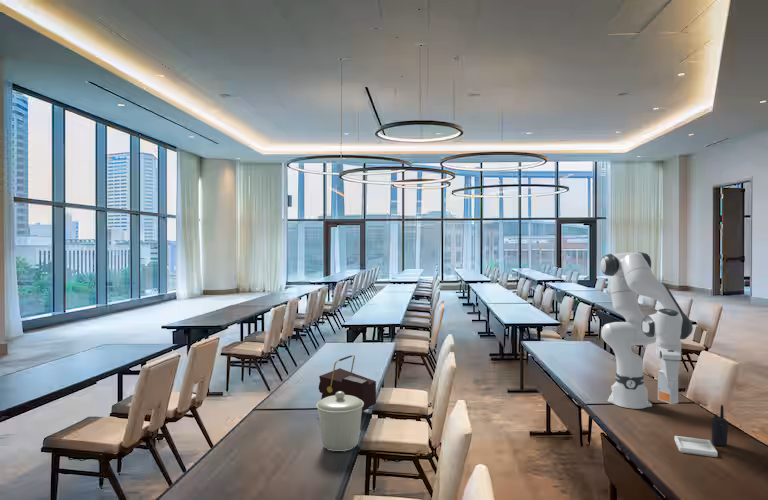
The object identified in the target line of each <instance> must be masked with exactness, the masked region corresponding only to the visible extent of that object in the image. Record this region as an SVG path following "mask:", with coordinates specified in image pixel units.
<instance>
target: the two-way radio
mask: <svg viewBox="0 0 768 500" xmlns="http://www.w3.org/2000/svg"><path fill="white" fill-rule="evenodd" d="M719 415H720V417H719ZM719 415H718V414H714V417H712V419H711V443H712V445H713V446H714V445H715V446H727V445H728V431H729V430H728V429H729V427H728V426H729V425H728V420H727V419H726V418H724V417H725V415H724V405H723V404H720V414H719Z"/></svg>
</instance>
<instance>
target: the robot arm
mask: <svg viewBox="0 0 768 500" xmlns="http://www.w3.org/2000/svg"><path fill="white" fill-rule="evenodd" d="M600 269H601V272H602V274H604V275H605V276H609V277H610V279H609V280H610V281H609V287H610V296H611V297H610V298H611V305H612V309H613V310H614V311H613V312H615V313H616V314H618V315H620V316H621V317H623V318H624V320H625V321H613V322H608V323H605V324H604V325H603V327H602V329H601V330H600V333H601V335H600V336H601V338H602V340H603V341H604V342H605V343H606V344H607V345H609V347H610V348H611V349H612V351H613V353H614V356H615V360H616V361H615V363H616V372H615V375H614V377H615V382H614V383H613V384H612V385H611V386H610V391H612V392H610V393H611V394H610V395H609V397H608V399H607V402H608V403H609V404H613V405H616V406H618V407H622V408H626V409H634V410H635V409H637V410H641V409H645V408H652V407H653V403H651V402H650V401H649V400H648V399H649V398H648V397H649V395H648V393H649V391H648V388H647V387H646V386H645V383H644V382H645V377H644V373H643V370H644V367H643V366H644V364H643V362H644V361H643V359H642V356H640V355H639V354H637V353H635V352H633V351H632V346H647V345H652V344H655V346H654V347H655V355H656V356H658V359H659V361H658V366H659V368H660V369H659V370H662V371H663V373H664V375H665V377H666V378H667V388H668V389H673V382H674V380H677V379H678V380H679V373H680V361H682V342H681V340H686V339H687V338H689V336H690V335H691V334H692V333H693V329H694V327H693V323H692V321H691V320H690V318H689V317H688V316H687V314H685V313H684V311H683V309H682V308H681V307H680V305H679V303H678V302H677V300H676V299H675V297H674V296H673V294H672V292H671V291H670V289H669V288H668V286H667V285H666V284H664V283H663V282H661V281H659V279H658V278H656V276H655V275H654V274H653V272H652V260H651V257H650V256H649V254H648V253H647V252H646V253H645V252H642V251H641V252H640V251H639V252H635V251H634V252H633V251H632V252H631V251H628V252H627V251H625V252H620V253H608V254H605V255H603V256H602V258H601V260H600ZM637 295H639V296H643V297H646V298H647V297H648V298H651V299H652V300H653V299H654V300H656V301H657V302H659V303H660V304H661V305H662V307H663V308H659V309H658V310H657V311H656V313H652V314H648V315H644V314H643V312H642V311H641V308H640V305H639V301H638V296H637Z"/></svg>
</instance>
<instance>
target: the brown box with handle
mask: <svg viewBox="0 0 768 500" xmlns="http://www.w3.org/2000/svg"><path fill="white" fill-rule="evenodd" d="M352 357H353V358H352ZM355 357H356V355H354V354H352V355H348V356H344V357H342V358H339V359H337V360H336V361H335V362H334V364H333V370H332V371H329V372H326V373H323V374H321V375H319V376H318V377H319V383H318V391H319V393H321V398H320V400H322V399H323V398H326V397H328V396H333V395H335V394H336V393H337V392H338V391H342V392H344V394H345V395H351V396H355V397H357V398H359V399H361V400H362V401H363V402H364V406H363V407H362V413H363V412H365V411H366V410H367V409H369V408H370V407H373V406H374V405H375V404H377V381H376V380H374V379H370V378H369V377H368V378H367V377H365V376H363V375H361V374H357V373H355V372H353V370H354V363H355V359H356V358H355ZM350 358H352V364H351V370H350V371H348V370H346V369H344V368H340V367H339V368H337V369H336V364H337V363H338V362H342V361H344V360H347V359H350Z"/></svg>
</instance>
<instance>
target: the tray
mask: <svg viewBox="0 0 768 500" xmlns="http://www.w3.org/2000/svg"><path fill="white" fill-rule="evenodd" d="M673 438H674V443H675V444H676V447H677V449H678V451H679V453H682V454H690V455H698V456H703V457H704V456H705V457H713V458H718V455H719V454H718V451H717V449H716V447H715V446H714V444H713V443H712V440H711V439H702V438H697V437H696V438H695V437H687V436H678V435H674V437H673Z"/></svg>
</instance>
